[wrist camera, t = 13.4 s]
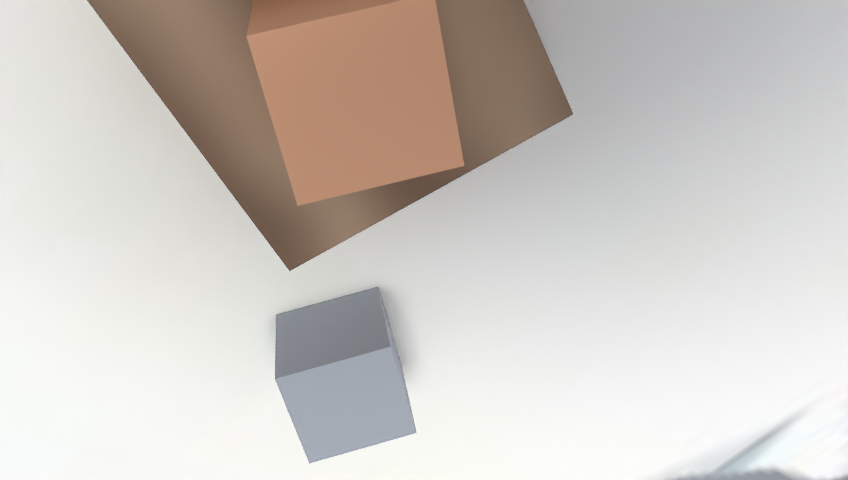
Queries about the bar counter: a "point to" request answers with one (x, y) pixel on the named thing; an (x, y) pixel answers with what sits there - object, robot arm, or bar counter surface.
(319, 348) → the grey cube
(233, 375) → the bar counter surface
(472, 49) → the walnut block
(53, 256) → the bar counter surface
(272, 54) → the rust cube
